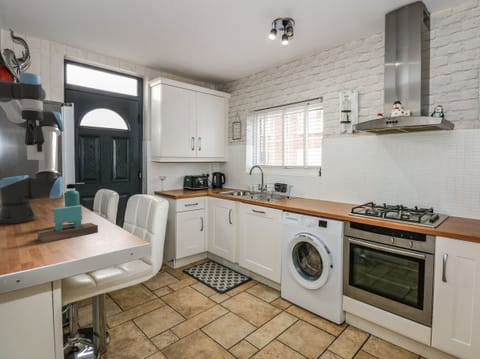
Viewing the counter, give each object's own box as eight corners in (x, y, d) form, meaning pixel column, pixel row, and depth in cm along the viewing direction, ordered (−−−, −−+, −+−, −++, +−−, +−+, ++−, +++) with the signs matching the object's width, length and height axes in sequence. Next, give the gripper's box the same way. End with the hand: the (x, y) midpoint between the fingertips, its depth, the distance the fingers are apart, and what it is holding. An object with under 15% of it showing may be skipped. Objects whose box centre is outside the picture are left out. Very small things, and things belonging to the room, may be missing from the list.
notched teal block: (54, 237, 111) (53, 208, 110) (79, 232, 118) (78, 205, 118) (57, 238, 109) (55, 209, 108) (82, 233, 117) (81, 206, 116)
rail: (37, 238, 109) (37, 231, 109) (90, 229, 124) (90, 222, 124) (43, 242, 104) (43, 235, 103) (98, 232, 119) (97, 225, 119)
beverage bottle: (68, 226, 128) (66, 184, 127) (63, 224, 132) (61, 184, 131) (83, 224, 134) (81, 183, 132) (77, 222, 138) (75, 183, 136)
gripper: (14, 112, 123) (17, 159, 124) (29, 106, 107) (32, 159, 108) (35, 114, 128) (37, 159, 130) (51, 108, 112) (54, 159, 114)
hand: (35, 159), depth 119 cm, fingers open, 13 cm apart
